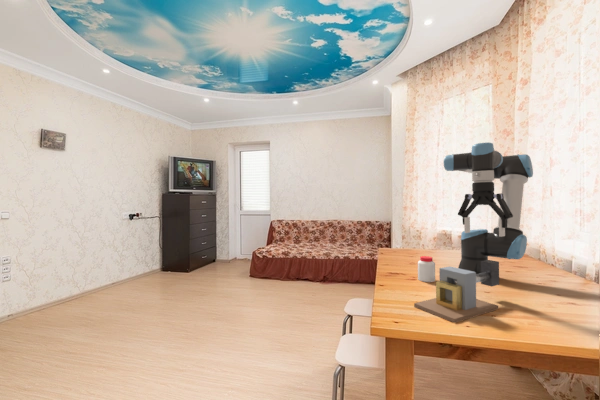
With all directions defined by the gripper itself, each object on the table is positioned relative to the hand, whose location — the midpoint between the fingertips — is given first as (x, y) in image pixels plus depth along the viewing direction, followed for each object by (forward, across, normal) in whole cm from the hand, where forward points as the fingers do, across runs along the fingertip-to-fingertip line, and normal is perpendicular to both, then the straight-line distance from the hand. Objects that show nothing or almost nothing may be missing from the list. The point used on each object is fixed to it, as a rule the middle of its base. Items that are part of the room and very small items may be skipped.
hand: (483, 234), depth 119 cm
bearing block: (+24, +2, -22) cm, 33 cm away
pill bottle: (+25, -27, -1) cm, 37 cm away
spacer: (+23, +2, -27) cm, 35 cm away
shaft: (+19, +3, -11) cm, 22 cm away
